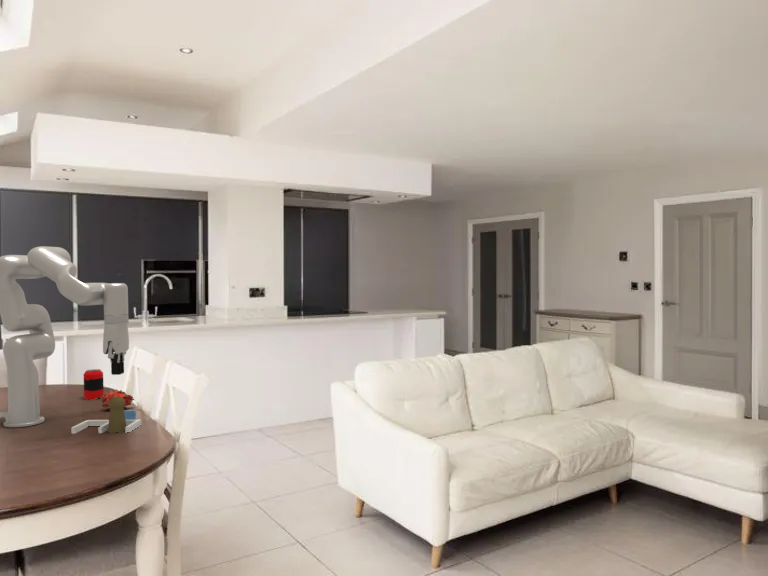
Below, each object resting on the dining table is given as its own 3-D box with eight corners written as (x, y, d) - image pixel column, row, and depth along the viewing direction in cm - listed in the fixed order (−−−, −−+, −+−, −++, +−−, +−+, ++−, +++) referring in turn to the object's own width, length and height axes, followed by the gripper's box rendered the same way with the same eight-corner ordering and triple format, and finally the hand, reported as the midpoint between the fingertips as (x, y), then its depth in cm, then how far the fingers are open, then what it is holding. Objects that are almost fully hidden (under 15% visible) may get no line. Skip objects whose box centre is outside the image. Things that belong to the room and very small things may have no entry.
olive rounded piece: (119, 433, 200) (119, 400, 200) (103, 432, 201) (102, 399, 201) (130, 428, 206) (130, 396, 206) (115, 428, 207) (114, 396, 207)
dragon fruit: (98, 414, 235) (131, 416, 239) (98, 405, 228) (132, 407, 232) (102, 394, 239) (134, 396, 244) (102, 385, 233) (135, 387, 237)
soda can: (85, 400, 253) (84, 372, 253) (83, 397, 259) (82, 370, 259) (105, 398, 257) (104, 370, 257) (102, 395, 264) (101, 368, 263)
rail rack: (71, 433, 201) (71, 418, 201) (87, 425, 212) (87, 411, 212) (129, 432, 201) (128, 417, 200) (142, 424, 212) (142, 410, 211)
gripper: (115, 318, 212) (116, 370, 212) (94, 321, 196) (95, 378, 197) (137, 317, 211) (138, 370, 212) (117, 321, 196) (118, 377, 196)
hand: (117, 373), depth 204 cm, fingers closed
